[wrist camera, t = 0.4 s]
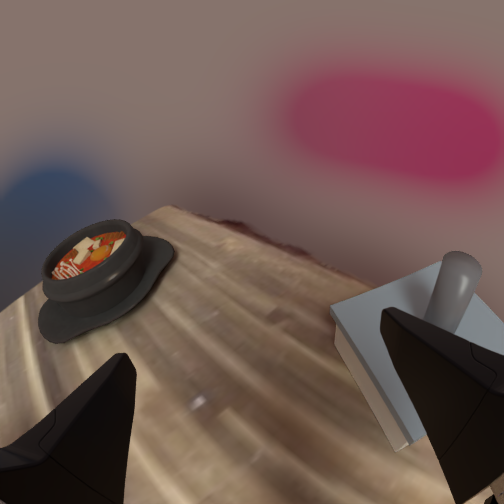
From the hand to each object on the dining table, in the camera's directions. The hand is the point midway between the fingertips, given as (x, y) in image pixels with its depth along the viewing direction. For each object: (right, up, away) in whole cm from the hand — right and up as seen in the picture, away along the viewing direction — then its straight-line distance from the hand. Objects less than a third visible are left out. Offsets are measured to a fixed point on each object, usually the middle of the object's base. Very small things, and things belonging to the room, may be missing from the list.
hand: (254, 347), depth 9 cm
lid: (+15, -4, +11) cm, 19 cm away
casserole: (-22, -3, +31) cm, 38 cm away
